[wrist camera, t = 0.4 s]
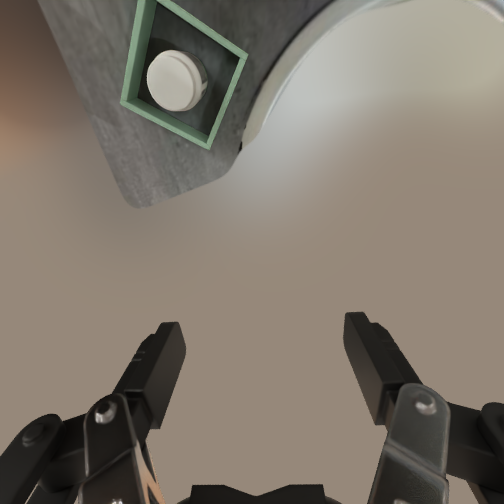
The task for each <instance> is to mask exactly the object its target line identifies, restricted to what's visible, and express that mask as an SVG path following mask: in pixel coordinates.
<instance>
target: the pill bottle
mask: <svg viewBox="0 0 504 504" xmlns="http://www.w3.org/2000/svg"><path fill="white" fill-rule="evenodd" d="M147 84H148V88H149V91H150V93H151V95H152V97H153V98H154V100H155V101H156V102H157V103H158V104H159V105H160V106H162V107H163V108H165V109H167V110H170V111H187V110H189V109H191V108H193V107H194V106H195V105H196V104H197V103H198V102H199V101H200V99H201V98H202V97H203V96H204V94H205V92H206V89H207V84H208V79H207V73H206V70H205V68H204V66H203V64H202V63H201V61H200V60H199V59H198V58H197V57H196V56H194V55H193V54H191V53H189V52H185V51H176V50H168V51H164V52H162V53H160V54H159V55H158V56H157V57H156V58H155V59H154V61H153V62H152V63H151V64H150V66H149V69H148V72H147Z"/></svg>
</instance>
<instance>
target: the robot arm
mask: <svg viewBox="0 0 504 504" xmlns="http://www.w3.org/2000/svg"><path fill="white" fill-rule="evenodd" d="M343 340H344V347H345V350H346V353H347V356H348V358H349V361H350V363H351V366H352V368H353V371H354V373H355V376H356V378H357V381H358V383H359V386H360V388H361V391H362V393H363V396H364V398H365V401H366V403H367V406H368V408H369V411H370V414H371V416H372V419H373V421H374V423H375V425H385V426H386V429H387V431H388V433H387V437H386V440H385V442H384V446H383V449H382V453H381V456H380V460H379V463H378V467H377V471H376V474H375V478H374V482H373V485H372V488H371V492H370V496H369V499H368V503H367V504H448V499H449V482H448V480H447V479H446V474H449V475H452V476H455V477H458V478H461V479H464V480H466V481H467V483H468V485H469V487H470V488H471V490H472V492H473V494H474V495H475V497H476V499H477V501H478V503H479V504H504V404H502V403H496V402H492V403H487V404H485V405H484V406H483V408H482V410H481V411H479V410H475V409H471V408H467V407H463V406H460V405H456V404H452V403H449V402H447V401H445V400H444V399H443V398H442V397H441V396H440V395H439V394H438V393H437V392H436V391H434V390H433V389H431V388H429V387H427V386H425V385H423V383H422V382H421V381H420V379H419V377H418V376H417V374H416V373H415V371H414V370H413V368H412V367H411V365H410V364H409V362H408V361H407V359H406V358H405V357H404V355H403V353H402V352H401V351H400V350H399V347H398V346H397V344H396V343H395V342H394V340H393V338H392V337H391V335H390V334H389V332H388V331H387V330H386V329H385V328H384V327H382V326H381V325H380V324H378V323H370V322H369V320H368V318H367V316H366V315H365V313H364V312H349V313H346V314H345V323H344V335H343ZM185 355H186V346H185V342H184V338H183V335H182V331H181V328H180V325H179V323H178V322H164V323H161V324H160V326H159V328H158V329H157V331H156V333H155V334H150V335H149V336H148V337H147V338H146V339H145V340H144V341H143V342H142V343H141V345H140V346H139V348H138V350H137V352H136V354H135V355H134V357H133V358H132V361H131V362H130V363H129V365H128V367H127V368H126V370H125V372H124V374H123V375H122V377H121V379H120V380H119V382H118V384H117V385H116V387H115V389H114V391H113V392H112V394H110V395H107V396H105V397H103V398H102V399H100V400H99V401H97V402H96V403H95V404H94V405H93V406H92V407H91V408H90V410H89V411H88V412H87V413H86V414H83V415H80V416H77V417H74V418H71V419H68V420H65V421H62V420H61V419H60V417H59V416H58V415H56V414H47V415H44V416H41V417H39V418H37V419H35V420H34V421H32V422H31V423H30V424H28V425H27V426H26V427H24V428H23V429H22V430H21V431H20V433H19V434H18V435H17V436H16V437H15V438H14V440H13V441H12V442H11V444H10V445H9V446H8V447H7V449H6V450H5V451H4V453H3V454H2V455H1V456H0V504H25V502H26V500H27V499H28V497H29V496H30V494H31V492H32V491H33V489H34V487H35V485H36V484H37V483H38V486H37V487H36V489H35V491H34V492H33V494H32V496H31V497H30V499H29V501H28V502H27V504H74V502H75V500H76V498H77V496H78V504H165V501H164V498H163V496H162V493H161V490H160V487H159V483H158V480H157V476H156V472H155V469H154V465H153V461H152V457H151V454H150V450H149V446H148V442H147V440H146V438H147V435H148V433H149V430H150V429H160V427H161V424H162V421H163V419H164V416H165V413H166V410H167V407H168V404H169V402H170V398H171V396H172V393H173V390H174V387H175V384H176V381H177V379H178V376H179V373H180V370H181V367H182V364H183V362H184V359H185ZM177 504H341V503H340V502H338V501H336V500H334V499H332V498H329V497H327V496H325V494H324V488H323V485H322V484H318V485H317V484H316V485H314V484H313V485H311V484H310V485H307V484H306V485H288V486H285V487H282V488H279V489H276V490H274V491H271V492H268V493H265V494H263V495H259V496H253V495H250V494H247V493H244V492H242V491H239V490H236V489H234V488H231V487H228V486H225V485H193V486H192V490H191V495H190V497H188V498H186V499H184V500H182V501H180V502H178V503H177Z"/></svg>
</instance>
